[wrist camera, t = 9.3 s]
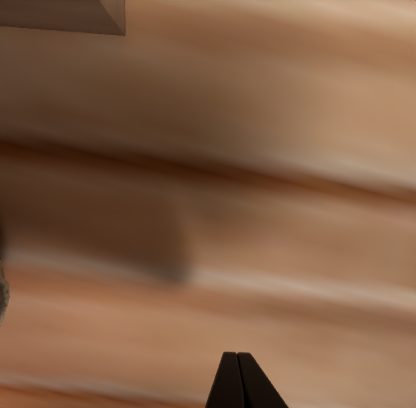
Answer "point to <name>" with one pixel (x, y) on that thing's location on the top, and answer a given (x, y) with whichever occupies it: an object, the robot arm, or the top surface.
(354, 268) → the top surface
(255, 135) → the top surface
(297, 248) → the top surface
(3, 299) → the sculpture
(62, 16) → the holder
